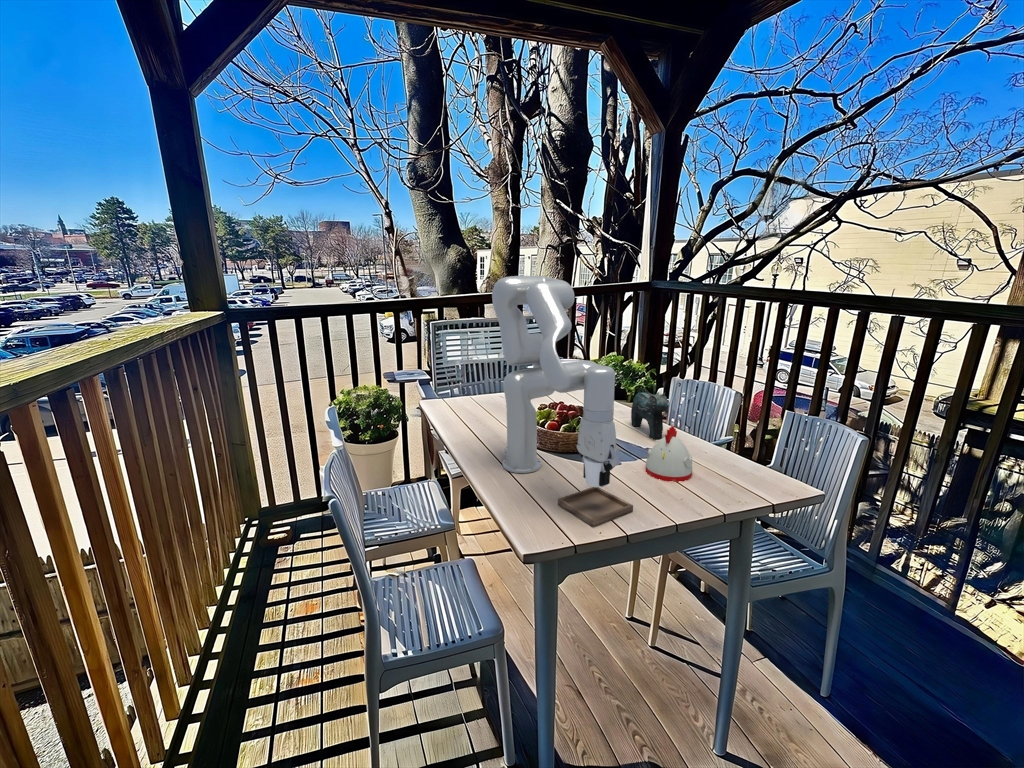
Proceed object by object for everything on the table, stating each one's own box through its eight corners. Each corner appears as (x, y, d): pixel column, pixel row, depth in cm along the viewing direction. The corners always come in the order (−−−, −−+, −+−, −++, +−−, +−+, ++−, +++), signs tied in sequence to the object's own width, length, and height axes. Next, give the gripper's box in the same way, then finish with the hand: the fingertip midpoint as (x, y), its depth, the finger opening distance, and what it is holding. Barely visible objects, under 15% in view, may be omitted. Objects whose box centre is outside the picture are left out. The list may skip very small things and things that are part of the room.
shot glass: (592, 490, 121) (593, 464, 119) (578, 480, 127) (578, 455, 125) (615, 485, 123) (616, 459, 122) (600, 475, 130) (600, 451, 128)
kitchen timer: (638, 474, 148) (641, 428, 145) (654, 460, 159) (657, 417, 155) (683, 486, 140) (687, 438, 136) (697, 470, 151) (702, 425, 147)
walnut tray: (557, 504, 129) (557, 498, 129) (595, 491, 137) (595, 485, 136) (593, 527, 118) (593, 521, 117) (632, 511, 125) (633, 505, 125)
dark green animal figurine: (667, 440, 176) (671, 388, 171) (651, 442, 175) (654, 389, 170) (640, 424, 195) (643, 376, 190) (625, 425, 193) (628, 377, 189)
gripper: (565, 409, 126) (564, 473, 130) (612, 425, 112) (609, 496, 116) (586, 404, 130) (584, 466, 134) (634, 420, 116) (630, 489, 120)
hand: (596, 480), depth 125 cm, fingers closed on shot glass, 5 cm apart
